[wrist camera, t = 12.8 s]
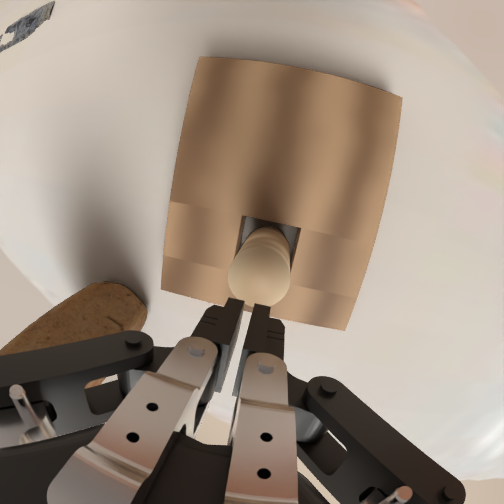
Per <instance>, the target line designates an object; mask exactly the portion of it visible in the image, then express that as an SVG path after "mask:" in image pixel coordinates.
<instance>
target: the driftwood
mask: <svg viewBox="0 0 504 504" xmlns="http://www.w3.org/2000/svg"><path fill="white" fill-rule="evenodd" d="M53 4H54V1H53V2H51V3H48V4H46V5H45V6H43V7H41V8H39V9H37V10H35V11H33V12H32V13H30V14H29V15H27V16H25V17H23V18H21V19H20V20H18V21H17V22H15V23H14V24H12V25H11V26H9V27H8V28H7V30H6V32H5V34H6V33H8V32H10V33H12V32H13V31H15V32H14V37H13V41H11V42H9V43H7V44H6V45H5V46H4V45H3V44H2V45H1V46H0V52H1V51H3V50H5V49H7V48H9V47H11V46H12V45H14V44H16V43H18V42H20V41H22V40H24V39H26V38H27V37H28V36H30V34H32V33H33V32H34V31H35V29H36V28H37V27H39V26H40V25H41V24H42V23H43V22H44V21H45V20H47V19H48V20H49V16H50V11H51V9H52V6H53ZM2 36H3V34H2V35H1V36H0V39H1V38H2ZM0 41H1V40H0Z"/></svg>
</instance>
